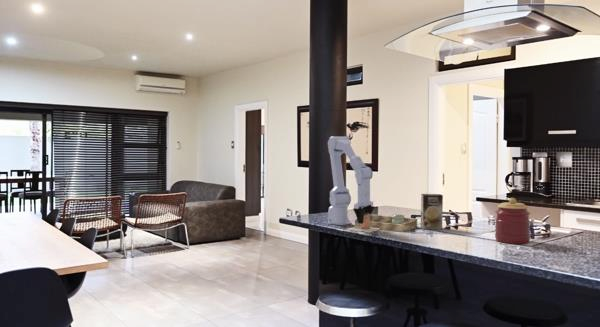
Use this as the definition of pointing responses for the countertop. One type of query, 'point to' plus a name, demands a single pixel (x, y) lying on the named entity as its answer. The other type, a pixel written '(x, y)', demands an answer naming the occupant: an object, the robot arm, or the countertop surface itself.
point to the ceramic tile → (363, 229)
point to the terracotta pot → (365, 221)
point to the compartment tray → (390, 223)
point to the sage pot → (397, 219)
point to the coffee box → (431, 211)
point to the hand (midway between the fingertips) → (363, 222)
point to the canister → (512, 223)
